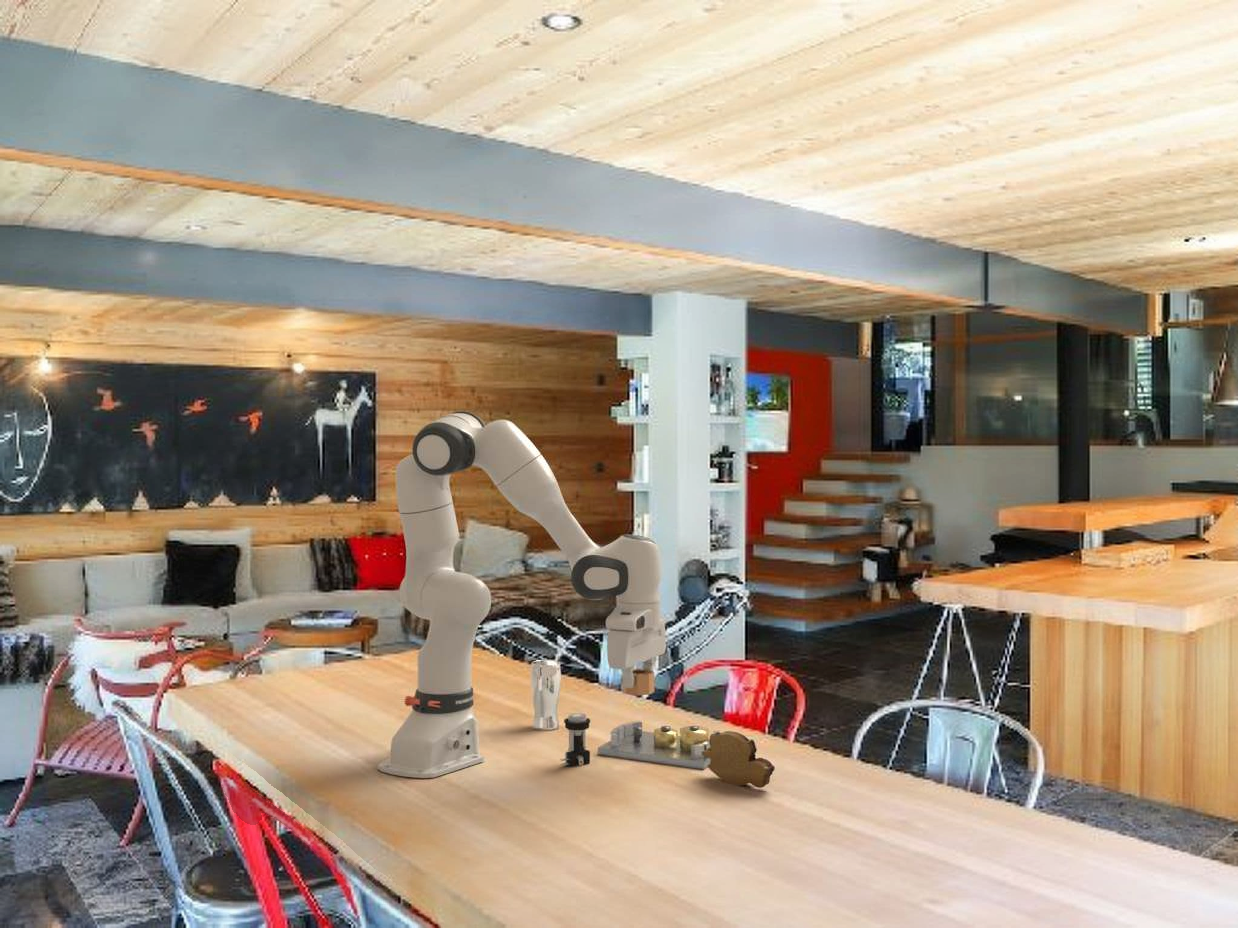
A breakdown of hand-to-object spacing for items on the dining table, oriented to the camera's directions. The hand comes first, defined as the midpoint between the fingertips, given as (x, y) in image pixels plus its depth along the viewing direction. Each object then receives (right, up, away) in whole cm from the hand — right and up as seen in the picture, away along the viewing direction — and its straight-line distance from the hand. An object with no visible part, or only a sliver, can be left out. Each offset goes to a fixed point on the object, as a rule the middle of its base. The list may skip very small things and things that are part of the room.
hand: (638, 683), depth 222 cm
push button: (-13, -17, +2) cm, 22 cm away
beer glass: (-21, -17, +32) cm, 41 cm away
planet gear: (0, -2, 0) cm, 2 cm away
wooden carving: (+19, -17, -10) cm, 28 cm away
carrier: (+6, -17, +11) cm, 21 cm away
